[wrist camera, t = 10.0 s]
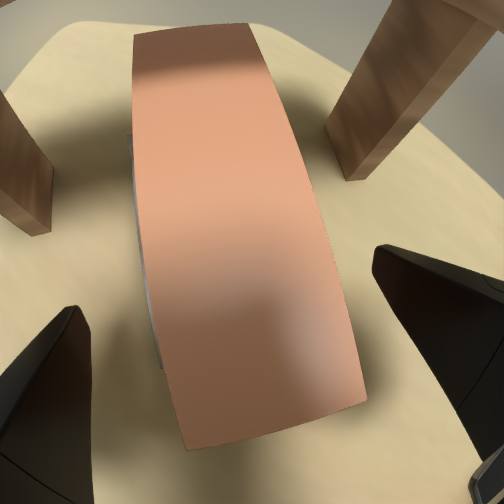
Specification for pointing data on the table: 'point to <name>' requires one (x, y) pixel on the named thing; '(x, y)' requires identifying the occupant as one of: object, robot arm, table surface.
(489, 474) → the phone
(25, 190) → the walnut bridge
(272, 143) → the terracotta panel
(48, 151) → the table surface
